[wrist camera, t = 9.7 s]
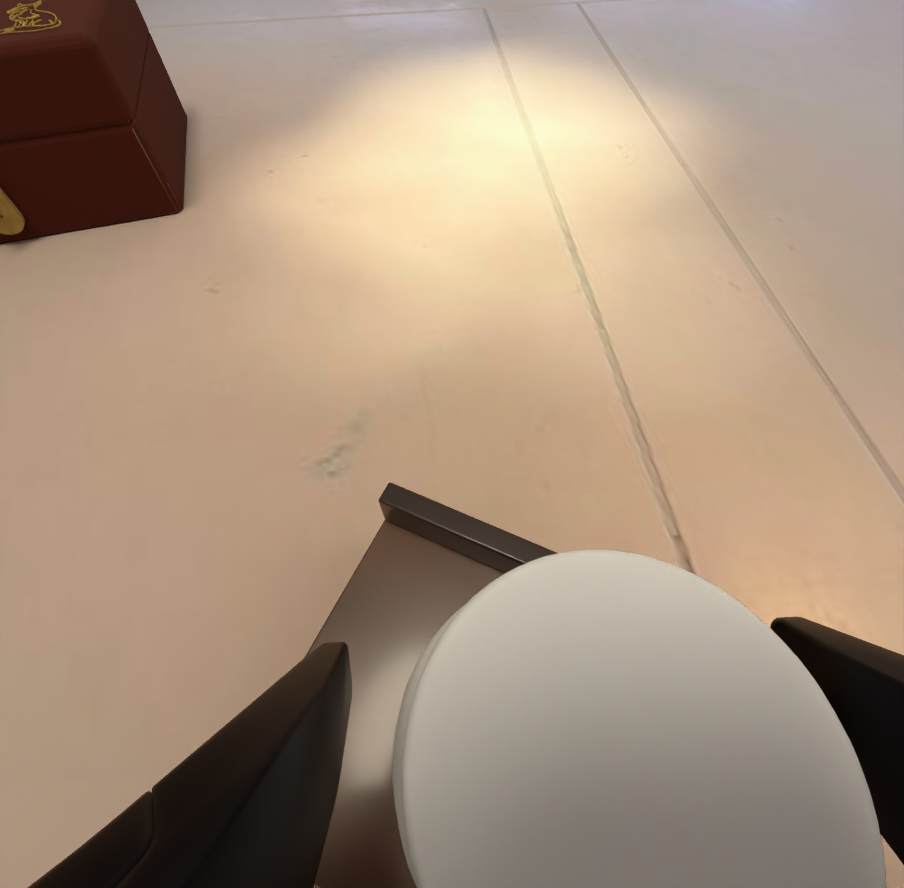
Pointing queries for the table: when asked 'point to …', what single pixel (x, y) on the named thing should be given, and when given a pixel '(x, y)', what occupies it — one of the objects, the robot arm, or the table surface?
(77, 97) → the box
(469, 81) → the table surface
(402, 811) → the pill bottle
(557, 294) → the table surface
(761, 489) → the table surface
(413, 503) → the shelf
